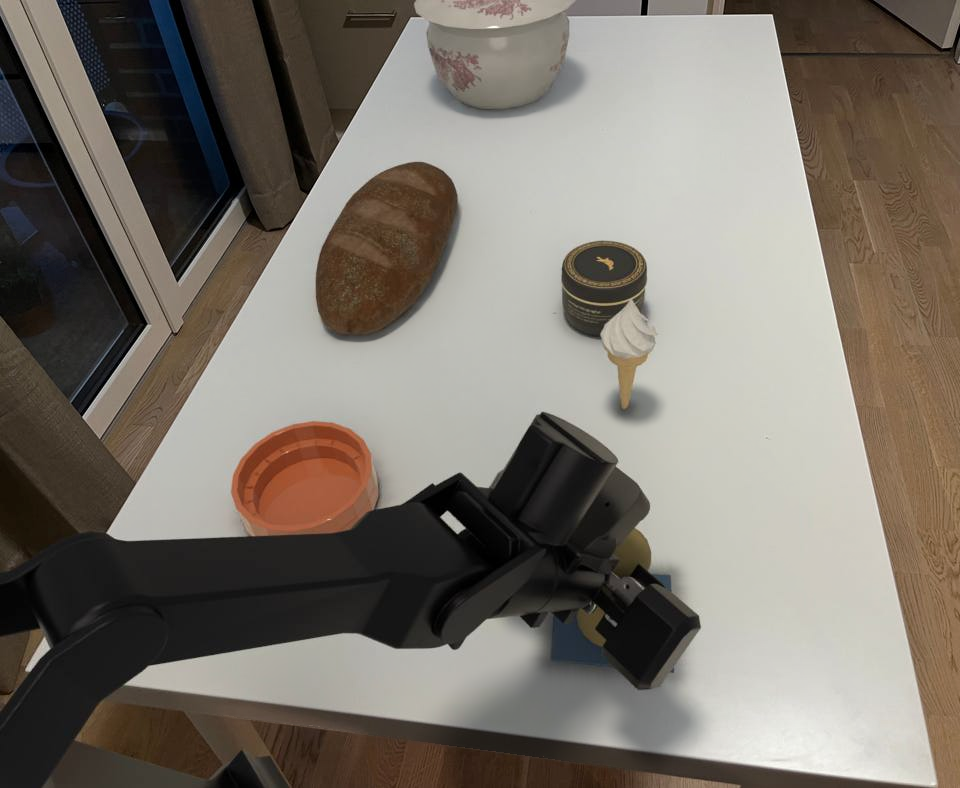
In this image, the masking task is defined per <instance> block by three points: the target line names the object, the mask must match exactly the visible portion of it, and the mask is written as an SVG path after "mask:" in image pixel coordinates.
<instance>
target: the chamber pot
mask: <svg viewBox="0 0 960 788" xmlns="http://www.w3.org/2000/svg"><path fill="white" fill-rule="evenodd" d="M576 1H577V0H415V1H414V2H413V3H414V4H413V6H414V9H415V12H416V14H417V15H418V16H420V17H421V18H423V19H424V20H426V21H427V22H429V24H428V26H427V29H426V32H425V34H426V42H427V48H428V51H429V55H430V57H431V61H432V64H433V67H434V70H435V73H436V76H437V77H438V79H439V80H440V81H441V83H442V84H443V85H444V86H445V88H446V89H447V91H448V92H449V93H450V94H451V95H452V96H453V97H455V98H456V99H457V100H458V101H460V102H461V104H464V105H467V106H469V107H471V108H477V109H484V110H505V109H511V108H512V109H513V108H518V107H521V106H525V105H528V104H531V103H533V102H534V101H536V100H538V99H541V98H542V97H543V96H544V95H545V94H546V93H547V92H548V90H550V89H551V88H552V86H553V85H554V83H555V81H556V80H557V78H558V76H559V74H560V73H561V72H562V69H563V68H564V65H565V61H566V54H567V49H568V46H569V45H568V44H569V39H570V19H569V17H568V15H567V14H566V10H568V9H569V8H570V7H571V6H572V5H573V4H574V3H575V2H576Z"/></svg>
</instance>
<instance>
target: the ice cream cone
mask: <svg viewBox="0 0 960 788" xmlns="http://www.w3.org/2000/svg"><path fill="white" fill-rule="evenodd" d="M647 322H649V319H648V318H647V317H646V316H645V315H644V314H642V312H641V313H640V312H639V310H638V308H637V307H636V305H635V304H634V302H633V300H632V299H631V300H630V301H629V302H628V304H627V305H626V306H625V307H624V308H623V309H622V310H621V311H620V312H619V313H617V314H616V315H615V316H614V317H613V318H612V319H611V320H610V321H609V322H607V323H606V324H605V325H604V328H603V330H602V332H601V334H600V335H601V336H600V339H601V344H602V347H603V349H604V351H606V353H607V358H608V360H609V361H610V362H611V364H613V365H615V366H616V367H617V379H618V387H619V388H618V389H619V397H620V406H621V408H622V409H623V410H626V409H627V408H628V407H629V404H630V398H631V394H632V389H633V385H634V381H635V376H636V370H637V367H639V366H641V365H643V364H644V363H645V362H646V361H647V359H648V357H649V356H648V355H649V354H650V353H651V352H653V350H654V348H655V346H656V345H655V344H657V343H656V338H655V336H658V335H659V334H658V332H657V330H656V327H655V326H654V325H651V326H650V325H648V324H647Z"/></svg>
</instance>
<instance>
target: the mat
mask: <svg viewBox="0 0 960 788" xmlns="http://www.w3.org/2000/svg"><path fill="white" fill-rule="evenodd" d="M651 574H652V575H653V576H654V577H655V578H656V579H657V580H659V581H660V582H661V583H662V584H663V585H664V586H665V588H666V589H667V590H669V591H671V592H672V575H671V574H661V573H659V574H657V573H651ZM576 616H577V614H576V615H575V617H574V618H573V620H572V621H571V623H565V624H563V623H562V622H561V621H560V620H559V619H558V618H557V617H556V616H555V615H554V617H553V631H552V642H551V643H552V644H551V655H550V661H551V662H559V663H570V664H580V665H592V666H603V667H612V668H613V667H614V666H613V665H612V664H611V663H610V662H609V661H608V660H606V659H605V658H604V657H603V656H602V647H601V646H599V645H596V644H594V643H592V642H591V641H590V640H589V639H588V638H586V637H585V636H584V634H583V633H582V631H581V630H580V628H579V626H578V622H577V618H576ZM614 668H615V667H614ZM670 673H675V666H674V667H673V669H672V670H671V671H670Z"/></svg>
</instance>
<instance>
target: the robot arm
mask: <svg viewBox="0 0 960 788" xmlns="http://www.w3.org/2000/svg"><path fill="white" fill-rule="evenodd" d="M618 464H619V459H618V457H617V456H616V454H614V452H612V450H610V448H608V447H607V446H606V445H605V444H604V443H602V442H601V441H600V440H599V439H598V438H595V437H594V436H593V435H591V434H590V433H588V432H586V431H585V430H583V429H581V428H580V427H578V426H576V425H575V424H573V423H571V422H569V421H568V420H565V419H564V418H562V417H559V416H557V415H555V414H552V413H549V412H546V411H541V412H540V413H538V414H535V416H534V418H533V419H532V422H531V423H530V424H529V426H528V428H527V429H526V431H525V432H524V434H523V435H522V437H521V439H520V441H519V443H518V445H517V446H516V448H515V449H514V451H513V452H512V454H511V456H510V457H509V459H508V461H507V462H506V464H505V466H504V467H503V469H501V470H500V471H499V472H497V473H496V475H495V477H494V478H493V480H492V482H491V483H490V485H489V487H483V486H477V485H475V484H474V482H472V481H471V480H470V479H469V478H468V476H466V475H465V474H464V473H463V472H457V473H455V474H453V475H452V476H450V477H448V478H447V479H445V480H443V481H441V482H439V483H437V484H434V483H433V482H432V483H430V484H429V485H427V486H426V487H425V488H423V489H422V490H421V491H419V492H418V493H416V494H415V495H414V496H412V497H411V498H409V499H407V500H406V501H405V502H402V503H400V504H398V505H392V506H387V507H382V508H376V509H374V510H371V511H368V512H366V513H365V514H364V515H363V516H362V517H361V518H360V519H359V520H358V521H357V522H356V523H355V524H354V525H353V526H352V527H351V529H349V530H346V531H341V532H336V533H323V534H297V535H271V536H251V535H247V536H245V535H244V536H223V537H199V538H198V537H197V538H194V537H193V538H170V539H148V540H147V539H145V540H143V539H142V540H123V539H117V538H115V537H113V536H112V535H110V534H109V533H105V532H100V531H86V532H85V531H84V532H79V533H74V534H71V535H69V536H67V537H64V538H61V539H60V540H58V541H56V542H54V543H52V544H51V545H49V546H47V547H46V548H44V549H43V550H41V551H39V552H38V553H36V554H35V555H33V556H32V557H30V558H29V559H27V560H25V561H24V562H22V563H20V564H19V565H17V566H16V567H13V568H12V569H10V570H6V571H1V572H0V638H4V637H9V636H14V635H18V634H24V633H28V632H32V631H37V630H41V632H42V634H43V636H44V639H45V641H46V643H47V645H48V648H49V649H48V650H47V652H45V653H44V654H43V655H42V656H41V657H40V658H39V659H38V660H37V661H36V663H35V665H33V667H32V669H30V671H29V673H28V674H27V676H26V677H25V678H24V679H23V680H22V682H21V683H20V685H19V686H18V687H17V688H16V690H15V691H14V693H13V694H12V695H11V697H10V698H9V699H8V701H7V702H6V703H5V702H4V701H3V700H2V699H1V698H0V788H291V786H290V785H289V783H288V781H287V780H286V778H285V777H284V775H283V774H282V772H281V771H280V769H279V767H278V765H277V764H276V762H275V761H274V759H273V757H272V756H271V755H265V756H256V755H252V754H251V753H250V752H249V751H248V750H247V749H245V748H242V749H241V750H240V751H239V752H238V753H237V754H236V756H234V758H233V759H232V760H231V761H226V762H225V763H224V764H222V765H221V766H220V768H219V769H217V770H216V771H215V772H214V774H212V775H211V776H210V777H209V778H208V779H205V778H202V777H198V776H195V775H191V774H189V773H185V772H182V771H178V770H175V769H172V768H168V767H165V766H161V765H159V764H155V763H151V762H149V761H145V760H142V759H138V758H135V757H132V756H128V755H125V754H122V753H118V752H115V751H112V750H110V749H109V750H108V749H105V748H101V747H98V746H95V745H92V744H89V743H85V742H82V741H79V740H76V739H77V736H78V735H79V734H80V732H81V731H82V730H83V728H84V726H85V725H86V723H87V722H88V720H89V719H90V717H91V716H92V715H93V713H94V711H95V710H96V708H97V707H98V706H99V704H100V703H101V702H102V701H103V700H105V699H106V698H107V697H109V696H111V695H112V694H113V693H114V692H116V691H117V690H119V689H120V688H121V687H123V686H125V685H126V684H127V683H128V682H130V681H131V680H133V679H134V678H135V677H137V676H138V675H140V674H141V673H142V672H144V671H145V670H146V669H147V668H149V667H150V666H151V667H152V666H157V665H164V664H169V663H175V662H181V661H188V660H193V659H199V658H204V657H205V658H206V657H211V656H217V655H222V654H228V653H235V652H240V651H245V650H251V649H258V648H263V647H270V646H271V647H272V646H276V645H282V644H283V645H284V644H289V643H294V642H300V641H305V640H312V639H318V638H323V637H329V636H335V635H341V634H349V635H350V634H357V635H361V636H363V637H365V638H368V639H370V640H373V641H375V642H377V643H379V644H383V645H385V646H387V647H390V648H391V649H395V650H427V649H429V650H430V649H437V648H441V647H444V646H446V645H448V646H449V648H450V649H451V650H453V651H456V650H458V649H460V648H461V647H462V645H463V643H464V642H465V641H466V638H467V637H469V636H470V634H472V633H473V632H475V631H476V630H477V629H478V628H479V627H480V626H481V625H483V623H484V622H485V621H487V620H493V619H503V618H513V617H520V618H521V619H522V621H524V622H525V624H526V625H528V627H529V628H530V629H534V628H540V627H541V625H542V624H543V622H544V621H545V619H546V618H547V616H548V614H549V613H552V615H554V616H556V617H557V618H558V619H559V620H560V621H561V622H562V623H563V624H565V623H571V621H572V620H573V618H574V617H575V615H576V614H577V612H578V611H579V609H580V608H582V609H583V610H584V611H585V612H586V613H587V614H592V613H594V611H595V610H596V608H597V606H598V607H599V608H601V609H602V610H603V611H604V612H605V614H604V616H603V617H602V619H601V620H600V622H599V623H598V625H597V626H596V628H595V630H596V631H597V632H598V633H599V634H600V635H601V636H602V637H603V638H604V639H605V640H606V642H605V643H604V645H603V646H602V656H603V657H604V658H605V659H606V660H608V661H609V662H610V663H611V664H612V665H613V666H614V669H615V670H617V672H619V673H620V674H621V676H623V677H624V678H625V679H626V681H628V682H629V683H630V684H631V685H632V686H633V687H634V688H635V689H636V690H637V691H644V690H653V689H656V688H659V687H661V685H662V684H663V683H664V681H665V680H666V679H667V677H668V676H669V674H670V673H671V672H670V671H671V670H672V669H673V667H674V668H675V666H676V665H677V663H678V661H680V659H681V657H682V656H683V654H684V653H685V652H686V650H687V648H689V646H690V645H691V643H692V642H693V640H694V639H695V637H696V636H697V635H698V633H699V632H700V631H701V629H702V624H701V619H700V615H699V614H697V612H695V611H694V610H693V609H692V608H691V607H689V606H688V605H687V604H686V603H685V602H683V600H681V599H680V598H679V597H678V596H676V594H674V593H673V592H672V590H671V591H669V590H667V589H666V588H665V586H664V585H663V584H662V583H661V582H660V581H659V580H657V579H656V578H655V577H654V576H653V575H652V574H653V573H651V572H650V571H649V570H648V571H647V570H646V569H645V568H643V567H642V566H641V565H640V564H638V565H637V566H636V568H635V569H634V571H633V572H632V574H631V575H630V577H623V578H621V579H620V578H619V577H618V576H617V575H615V574H614V573H613V572H612V571H613V570H614V568H615V567H616V565H617V564H618V562H619V561H620V559H619V558H618V557H617V556H616V555H614V554H613V553H614V551H615V550H616V548H617V547H618V546H619V545H620V544H621V543H622V542H623V541H624V540H625V538H626V537H627V536H628V535H629V534H630V533H631V532H632V530H633V529H634V528H636V527H637V526H638V525H639V524H640V523H641V522H642V521H643V520H644V519H646V518H647V516H648V514H649V513H650V510H651V503H650V501H649V500H650V499H649V498H648V497H647V496H646V494H645V493H644V491H643V489H642V488H641V487H640V485H639V484H638V483H637V482H636V481H635V480H634V479H633V478H631V477H630V476H629V475H628V474H626V473H625V472H624V471H622V470H621V469H620V468H619V467H617V465H618ZM447 512H448V513H449V514H450V515H451V516H452V517H453V518H454V519H455V520H456V521H457V522H459V524H461V526H463V528H464V529H462V530H461V531H459V532H458V533H457V532H456V531H455V530H454V529H453V528H452V527H451V526H450V525H449V524H448V523H447V522H446V521H445V520H444V519H443V518H442V516H444V514H446V513H447ZM604 580H605V581H604ZM607 584H609V585H608V586H607ZM612 587H613V589H612V590H611V589H610V588H612ZM593 602H594V604H593Z"/></svg>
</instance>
